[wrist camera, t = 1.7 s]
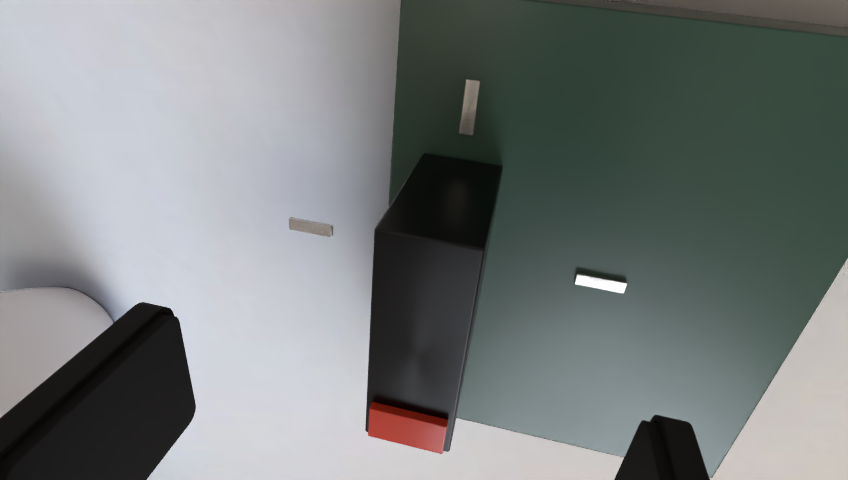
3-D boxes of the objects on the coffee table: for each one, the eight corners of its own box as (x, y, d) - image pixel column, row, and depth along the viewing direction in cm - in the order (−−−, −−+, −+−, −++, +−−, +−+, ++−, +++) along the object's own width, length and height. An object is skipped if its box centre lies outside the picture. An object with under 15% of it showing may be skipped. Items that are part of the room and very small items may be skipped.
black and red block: (422, 152, 14) (370, 234, 10) (503, 165, 13) (483, 256, 9) (407, 322, 17) (361, 440, 13) (472, 337, 16) (447, 461, 12)
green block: (324, -33, 15) (275, -30, 12) (890, 32, 13) (982, 52, 10) (328, 331, 22) (297, 384, 19) (691, 411, 20) (713, 483, 17)
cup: (108, 252, 22) (-45, 355, 17) (189, 413, 27) (92, 537, 21) (-20, 256, 24) (-196, 349, 19) (76, 405, 29) (-41, 516, 23)
